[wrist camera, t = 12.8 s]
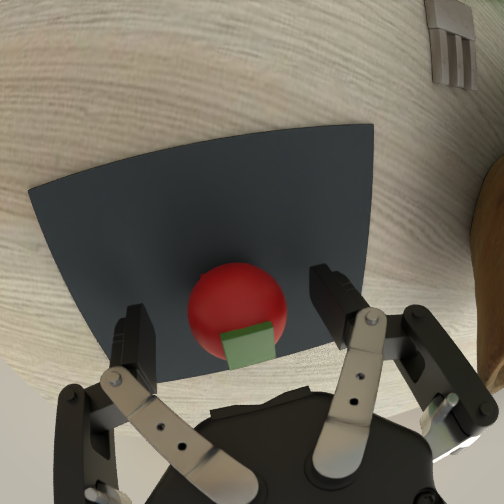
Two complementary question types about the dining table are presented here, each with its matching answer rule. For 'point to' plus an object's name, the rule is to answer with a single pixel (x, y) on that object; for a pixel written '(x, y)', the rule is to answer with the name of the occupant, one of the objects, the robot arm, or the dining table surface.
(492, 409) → the robot arm
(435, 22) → the fork
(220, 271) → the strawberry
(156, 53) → the dining table surface
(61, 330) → the dining table surface
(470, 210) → the dining table surface
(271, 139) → the placemat
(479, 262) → the bowl
